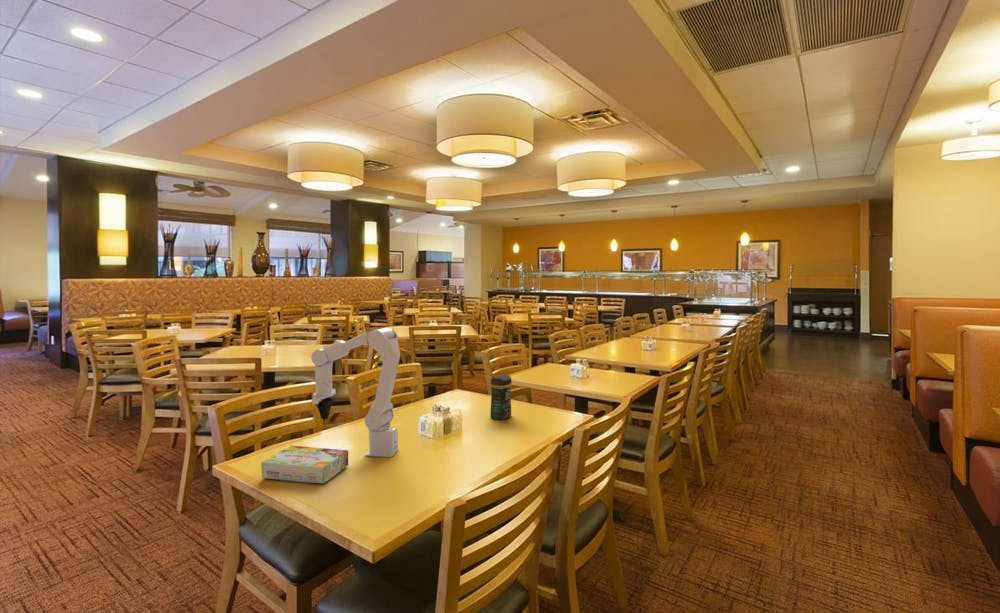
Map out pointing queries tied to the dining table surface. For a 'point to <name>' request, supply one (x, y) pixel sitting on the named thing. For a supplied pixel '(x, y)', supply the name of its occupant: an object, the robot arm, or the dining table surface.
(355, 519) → the dining table surface
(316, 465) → the snack box
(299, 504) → the dining table surface
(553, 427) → the dining table surface
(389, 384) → the robot arm
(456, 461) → the dining table surface
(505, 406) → the coffee jar
